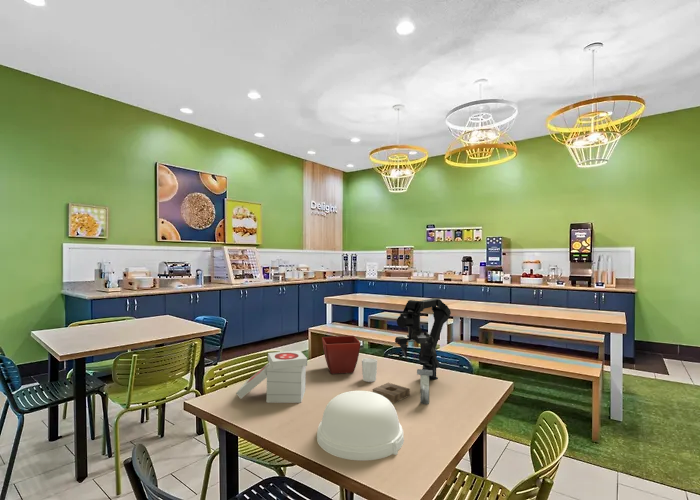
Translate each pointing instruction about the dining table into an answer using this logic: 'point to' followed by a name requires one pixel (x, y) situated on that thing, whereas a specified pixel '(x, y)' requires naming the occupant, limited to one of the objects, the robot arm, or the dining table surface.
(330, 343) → the plant pot
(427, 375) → the t key
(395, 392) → the socket block
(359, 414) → the dome cover
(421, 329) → the robot arm
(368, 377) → the white cup
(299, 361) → the pizza boxes
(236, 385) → the dining table surface
